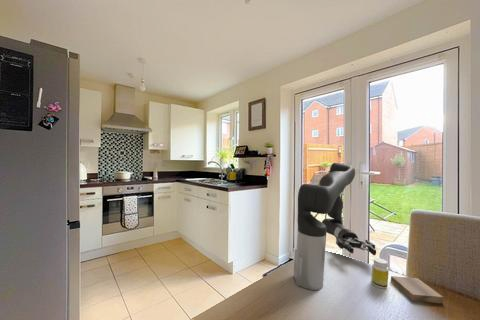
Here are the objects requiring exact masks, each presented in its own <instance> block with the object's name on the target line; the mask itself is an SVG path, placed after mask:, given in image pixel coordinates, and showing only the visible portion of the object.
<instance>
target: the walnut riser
mask: <svg viewBox="0 0 480 320" xmlns="http://www.w3.org/2000/svg"><path fill="white" fill-rule="evenodd" d="M391 281H392V282H393V283H394V284H395V285H396V286H397V287H396V286H395V285H394V284H393V283H392V282H391ZM390 282H391V283H392V284H393V285H394V286H395V287H396V288H397V289H398V290H399V291H400V292H401V293H403V295H405V296H406V297H408V299H409V300H410V301H413V302H423V303H431V304H433V303H434V304H443V303H444V296H443V295H441V294H440V293H438V292H437V291H436V290H435V289H433V288H432V287H430V286H429V285H428V284H426V283H425V282H424V281H422V280H421V279H419V278H418V277H408V276H407V277H406V276H395V275H394V276H393V275H391V276H390Z"/></svg>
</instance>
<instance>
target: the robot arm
mask: <svg viewBox="0 0 480 320" xmlns="http://www.w3.org/2000/svg"><path fill="white" fill-rule="evenodd" d="M355 176H356V170H355V167H354V166H352V165H350V164H345V163H340V162H333V163H332V164H331V165H330V167H329V171H328V172H327V173H326V174H325V175H323V176H322V177H321V178H320V181H319V184H310V183H303V184H301V186H300V187H299V188H298V194H297V220H296V221H297V233H296V234H297V235H296V236H297V237H296V249H295V250H294V258H293V260H294V261H293V278H294V281H295V285H296V286H298V287H302V288H303V289H306V290H311V291H316V290H317V291H318V290H321V289H322V288H323V287H324V280H325V279H324V275H325V262H326V261H325V260H326V245H327V234H329V235H332V236H333V237H335V244H336V245H337V246H338V248H339V249H340V250H341V249H342V250H343V249H344V250H345V251H348V252H349V253H350V254H354V251H355V250H354V249H359V250H362V251H367V252H369V253H370V254H371V255H373V256H376V255H377V249H376V245H375V244H374V243H372V242H371V241H370V240H368V239H364V240H361V239H360V238H359V237H358V236H357V234H356V233H355V232H353V231H352V230H351V229H349V228H348V227H346V226H345V225H344V224H343V219H342V218H343V217H342V215H343V208H344V203H343V199H342V196H341V194H342V193H343V191H344V190H346V187H347V186H348V185H350V184H351V183H352V182H353V181H354V179H355ZM312 213H315V214H318V215H319V214H320V215H326V214H327V216H328V217H329V218H324V219H323V220H322V221H320V220H319V219H317V218H316V217H315V216H314V215H313V214H312Z"/></svg>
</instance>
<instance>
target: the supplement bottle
mask: <svg viewBox="0 0 480 320" xmlns="http://www.w3.org/2000/svg"><path fill="white" fill-rule="evenodd" d="M388 263H389V262H388V261H387V260H385V259H384V258H379V257H374V258H373V263H372V265H371V275H370V277H371V278H370V279H371V280H370V283H371V284H372V285H373V286H374V287H377V288H379V289H387V288H388V286H389V285H388V283H389V282H388V281H389V267H388V265H389V264H388Z"/></svg>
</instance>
